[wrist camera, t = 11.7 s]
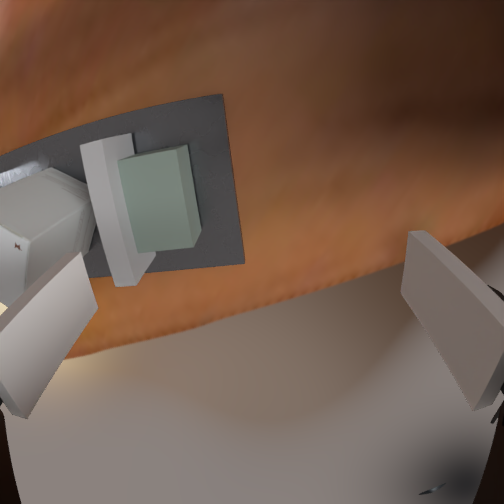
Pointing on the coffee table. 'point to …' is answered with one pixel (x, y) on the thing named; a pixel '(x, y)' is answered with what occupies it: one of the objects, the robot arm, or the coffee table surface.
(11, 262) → the supplement box
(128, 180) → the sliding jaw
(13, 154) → the vise
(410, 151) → the coffee table surface
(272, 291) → the coffee table surface
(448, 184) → the coffee table surface
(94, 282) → the coffee table surface
